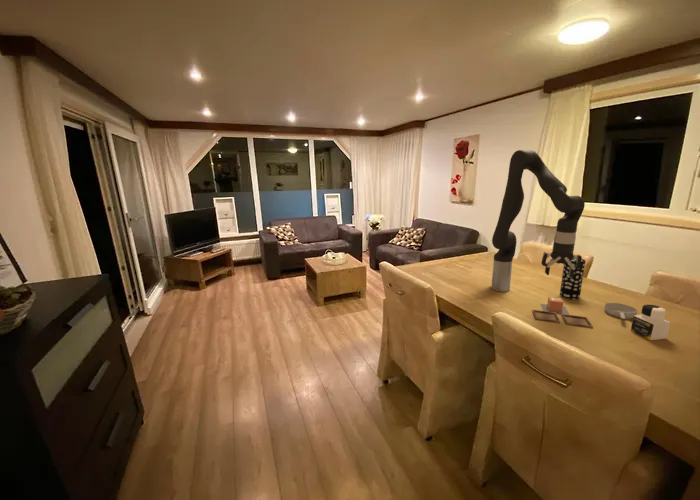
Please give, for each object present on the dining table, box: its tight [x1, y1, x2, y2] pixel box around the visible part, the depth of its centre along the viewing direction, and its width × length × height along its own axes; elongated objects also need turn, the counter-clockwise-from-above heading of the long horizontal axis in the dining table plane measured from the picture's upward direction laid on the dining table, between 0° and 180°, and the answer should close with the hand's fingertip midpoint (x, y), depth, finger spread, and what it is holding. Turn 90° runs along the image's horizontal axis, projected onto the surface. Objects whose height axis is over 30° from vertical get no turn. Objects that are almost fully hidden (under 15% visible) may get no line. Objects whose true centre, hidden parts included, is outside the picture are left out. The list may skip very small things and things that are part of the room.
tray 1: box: [531, 309, 561, 324], centre depth 127 cm, size 9×9×1 cm
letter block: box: [546, 296, 564, 312], centre depth 133 cm, size 5×5×5 cm
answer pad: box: [540, 303, 571, 315], centre depth 133 cm, size 10×10×1 cm
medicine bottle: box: [630, 304, 671, 341], centre depth 109 cm, size 7×7×12 cm
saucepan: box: [604, 302, 639, 320], centre depth 123 cm, size 11×18×4 cm, turn 141°
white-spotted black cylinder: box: [559, 258, 586, 301], centre depth 145 cm, size 8×8×20 cm
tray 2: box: [560, 314, 594, 329], centre depth 121 cm, size 9×9×1 cm
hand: (558, 275), depth 129 cm, fingers open, 8 cm apart
